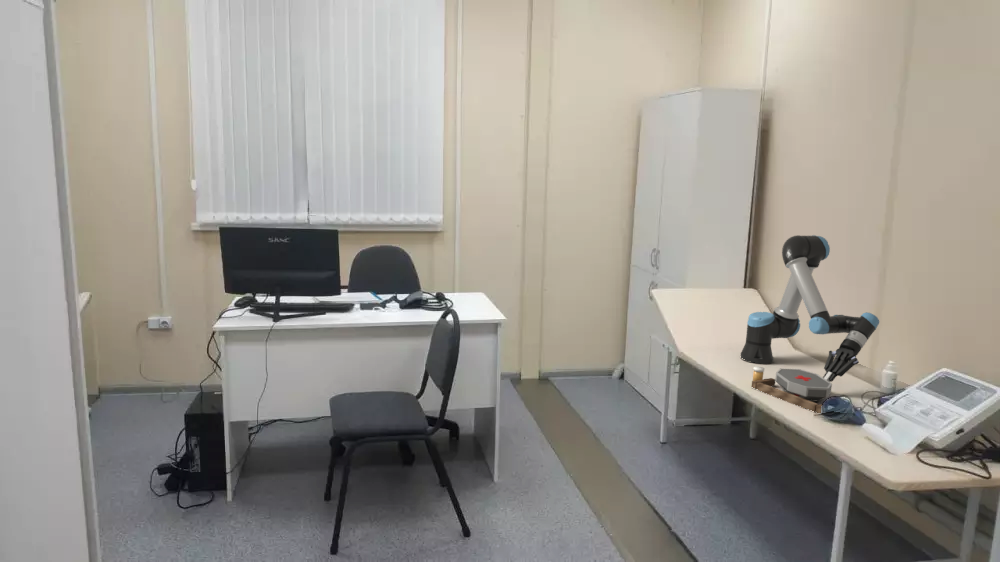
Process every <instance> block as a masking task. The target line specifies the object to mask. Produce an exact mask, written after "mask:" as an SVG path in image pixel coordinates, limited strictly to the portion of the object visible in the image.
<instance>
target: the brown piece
mask: <svg viewBox="0 0 1000 562" xmlns="http://www.w3.org/2000/svg"><path fill="white" fill-rule="evenodd" d="M775 384H776V381H775V378H772V377H770V378H763V379H762V380H756V381H753V380H752V381H751V385H750V386H751V387H753V388H756V389H758V390H760V391H759V392H761V391H762V392H761V393H763V392H764V393H763V394H766V393H767V394H766V395H768V394H769V396H771V395H772V396H771V397H774V396H775V397H774V398H776V397H777V399H779V398H780V399H779V400H781V399H782V400H781V401H784V402H786V401H787V403H790V404H792V405H794V404H795V405H794V406H797V405H798V407H799V406H801V407H800V408H802V407H803V408H802V409H804V408H806V409H805V410H807V409H809V410H808V411H810V410H812V411H814V412H813V413H816V412H817V413H821V406H822V404H823V403H821V404H819V403H816V402H815V401H812V400H806V399H803V398H801V397H798V396H795V395H793V394H790V393H789V392H788V391H785V390H781V389H779V388H776V385H775ZM771 386H772V387H771ZM751 387H750V388H751ZM753 388H752V389H753ZM756 389H755V390H756ZM758 390H757V391H758ZM812 411H811V412H812ZM815 411H816V412H815ZM817 413H816V414H817Z"/></svg>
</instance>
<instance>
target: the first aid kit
mask: <svg viewBox="0 0 1000 562" xmlns="http://www.w3.org/2000/svg"><path fill="white" fill-rule="evenodd" d="M774 379H775V383H777V384H778V385H779V386H780V387H781V388H782V389H783V391H785V390H786V391H785V392H787V393H790V394H793V395H795V396H798V397H801V398H803V399H806V400H809V401H812V400H817V401H816V402H819V401H821V400H825V399H826V398H829V397H830V395H831V393H832V386H833V384H832V383H833V382H829V381H827V380H826V379H824V378H823V376H821V375H819V374H818V373H815V372H812V371H808V370H805V369H800V368H779V369H778V370H777V371H776V373H775V377H774Z"/></svg>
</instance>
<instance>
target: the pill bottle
mask: <svg viewBox="0 0 1000 562" xmlns="http://www.w3.org/2000/svg"><path fill="white" fill-rule="evenodd" d="M752 370H753V372H752V373H753V375H752V381H756V380H762V379H764V372H765V368H764V367H763V366H753V369H752Z"/></svg>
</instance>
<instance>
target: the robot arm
mask: <svg viewBox="0 0 1000 562" xmlns="http://www.w3.org/2000/svg"><path fill="white" fill-rule="evenodd" d="M830 248H831V247H830V244H829V242H828V240H827V239H826V238H824V237H823V236H820V235H815V234H813V235H793V236H790V237H789V238H787V239H786V240H785V242H784V244H783V245H782V249H781V258H782V260H783V263H784V265H785V268H786V269H789V271H790V276H789V278H788V282H787V284H786V286H785V289H784V292H783V293H782V294H783V295H782V297H781V300H780V303H779V306H776V307H775V308H774V310H773V312H769V311H768V312H767V311H756V312H752V313H751V314H749V316H748V319H747V322H746V323H747V325H746V337H745V343H744V346H743V348H742V350H741V352H740V356H741V358H743V359H745V360H747V361H751V362H755V363H754V364H757V363H761V364H760V365H769V363H770V364H772V362H774V355H773V351H772V339H773V340H774V339H788V338H793V337H794V336H796V335H798V334H799V331H800V328H801V323H800V322H801V320H800V318H799V317H800V315H799V314H798V311H799V308H800V305H801V302H802V301H803V303H804V305H805V307H806V310H807V313H808V315H809V317H810V320H809V321H808V328H809V331H810V332H811V333H812V334H814V335H829V334H842V333H845V334H847V335H846V336H845V338H844V339H843V340H842V342H841V343H840V345H839V347H838V348H837V349H836V350H834V351H832V350H829V351H828V356H827V359H826V362H825V364H824V366H823V367H824V368H823V369H824V371H825V373H824V374H823V376H822V377H823V378H824V379H826V380H827V381H829V382H830V383H833V381H834V380H835V379H836V378H837V377H843V376H844V375H845V374H846V373H847V372H849V371H850V369H852V368H853V367H854V366H855V365H857V364H859V363H860V362H859V360H858V358H857V356H858V354H860V352H861V350H862V349H863V347H864V346H865V345H866V343H867V342H868V341H869V339H870V338H871V336H872V335H873V333H874V332H875V331H876V330H877V327H878V326H879V324H880V319H879V318H878V316H876V315H875V314H873V313H871V312H864V313H862V314H861V315H860V316H850V315H844V314H834V315H832V316H831V315H830V313H829V311H828V308H827V306H826V304H825V301H824V300H823V297H822V295H821V293H820V290H819V288H818V286H817V283H816V282H815V279H814V277H813V275H812V274H813V272H814V270H815V269H817V268H819V266H820V263H821V262H822V261H824V260H826V259H827V258H828V257H829V255H830V252H831V251H830V250H831V249H830ZM740 356H739V357H740ZM741 358H740V359H741ZM747 361H746V362H747ZM751 362H750V363H751Z"/></svg>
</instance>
